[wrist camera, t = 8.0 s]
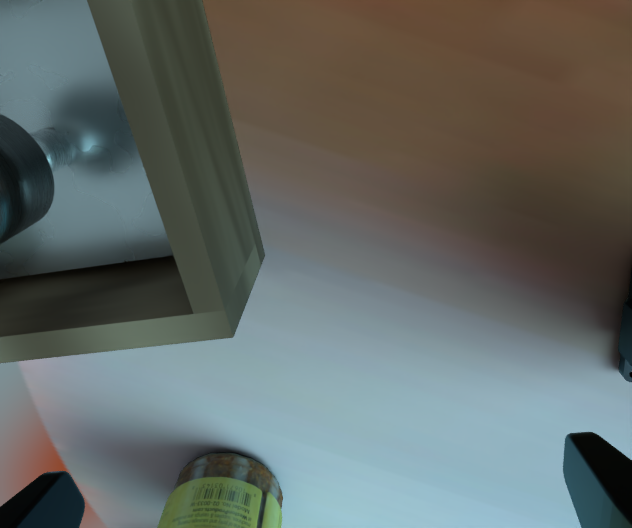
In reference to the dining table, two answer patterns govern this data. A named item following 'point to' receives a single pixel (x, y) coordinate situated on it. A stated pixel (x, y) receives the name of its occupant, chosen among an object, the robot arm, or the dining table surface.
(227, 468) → the sauce bottle
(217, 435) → the dining table surface
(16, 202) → the plunger
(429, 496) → the dining table surface
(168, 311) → the frame
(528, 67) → the dining table surface
